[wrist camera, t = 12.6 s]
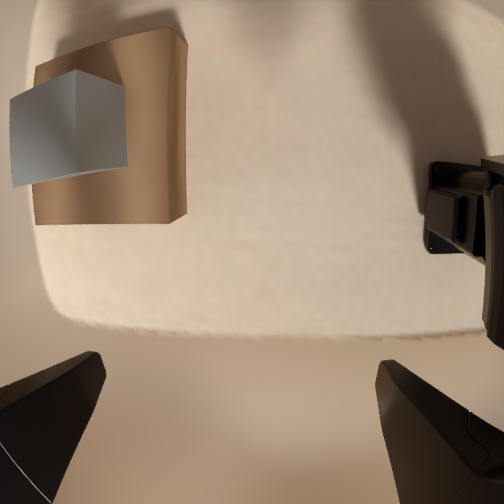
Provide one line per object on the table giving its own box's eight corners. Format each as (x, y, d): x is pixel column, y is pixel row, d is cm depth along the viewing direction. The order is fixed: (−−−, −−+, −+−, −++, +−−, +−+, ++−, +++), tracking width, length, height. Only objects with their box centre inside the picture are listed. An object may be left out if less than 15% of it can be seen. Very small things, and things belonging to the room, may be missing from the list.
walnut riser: (189, 47, 18) (171, 26, 14) (188, 212, 21) (169, 223, 18) (66, 74, 19) (35, 66, 15) (66, 214, 22) (35, 225, 19)
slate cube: (124, 86, 15) (76, 69, 11) (127, 166, 17) (78, 172, 12) (62, 105, 16) (10, 99, 11) (65, 178, 17) (12, 187, 13)
